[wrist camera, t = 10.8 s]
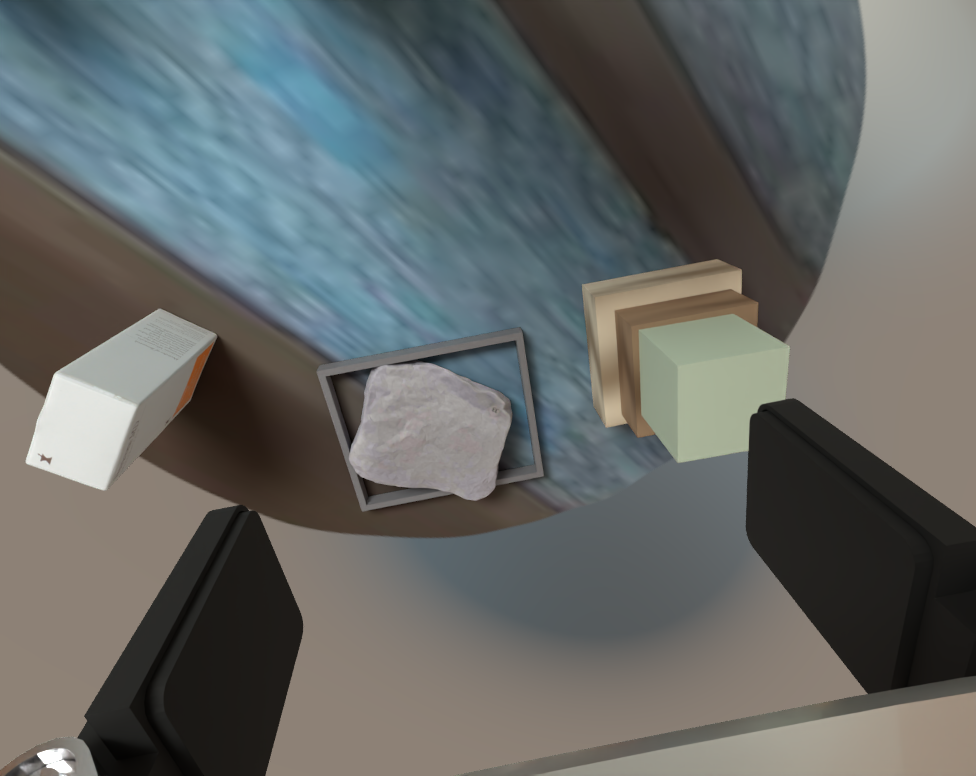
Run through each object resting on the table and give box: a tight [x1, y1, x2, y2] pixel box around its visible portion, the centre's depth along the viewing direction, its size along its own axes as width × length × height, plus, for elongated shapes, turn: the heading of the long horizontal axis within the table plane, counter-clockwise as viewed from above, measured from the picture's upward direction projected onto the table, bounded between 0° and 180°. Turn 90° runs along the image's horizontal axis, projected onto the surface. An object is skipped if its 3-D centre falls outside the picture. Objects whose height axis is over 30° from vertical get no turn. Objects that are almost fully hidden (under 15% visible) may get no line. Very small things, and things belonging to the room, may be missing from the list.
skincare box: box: [26, 309, 217, 491], centre depth 34 cm, size 6×4×12 cm
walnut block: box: [615, 289, 758, 438], centre depth 37 cm, size 8×8×4 cm
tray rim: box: [317, 327, 544, 511], centre depth 43 cm, size 12×15×1 cm
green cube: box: [639, 314, 790, 463], centre depth 33 cm, size 6×6×6 cm
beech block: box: [582, 259, 742, 428], centre depth 41 cm, size 10×10×4 cm
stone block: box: [349, 360, 512, 501], centre depth 43 cm, size 12×5×10 cm
